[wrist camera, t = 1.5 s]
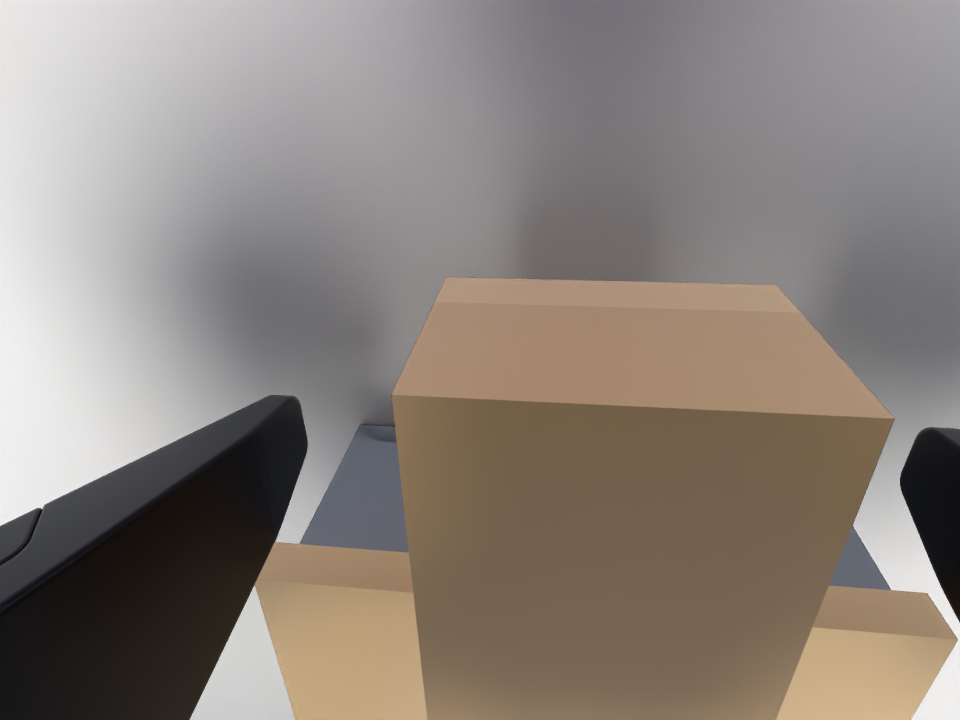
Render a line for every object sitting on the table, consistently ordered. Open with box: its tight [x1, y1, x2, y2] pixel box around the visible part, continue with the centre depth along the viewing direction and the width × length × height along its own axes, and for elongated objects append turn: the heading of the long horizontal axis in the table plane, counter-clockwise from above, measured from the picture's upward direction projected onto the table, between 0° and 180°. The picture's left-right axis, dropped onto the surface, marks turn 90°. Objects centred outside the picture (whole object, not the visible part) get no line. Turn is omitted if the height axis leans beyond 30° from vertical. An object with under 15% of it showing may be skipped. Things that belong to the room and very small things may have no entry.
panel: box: [300, 425, 891, 590], centre depth 15 cm, size 14×10×4 cm
